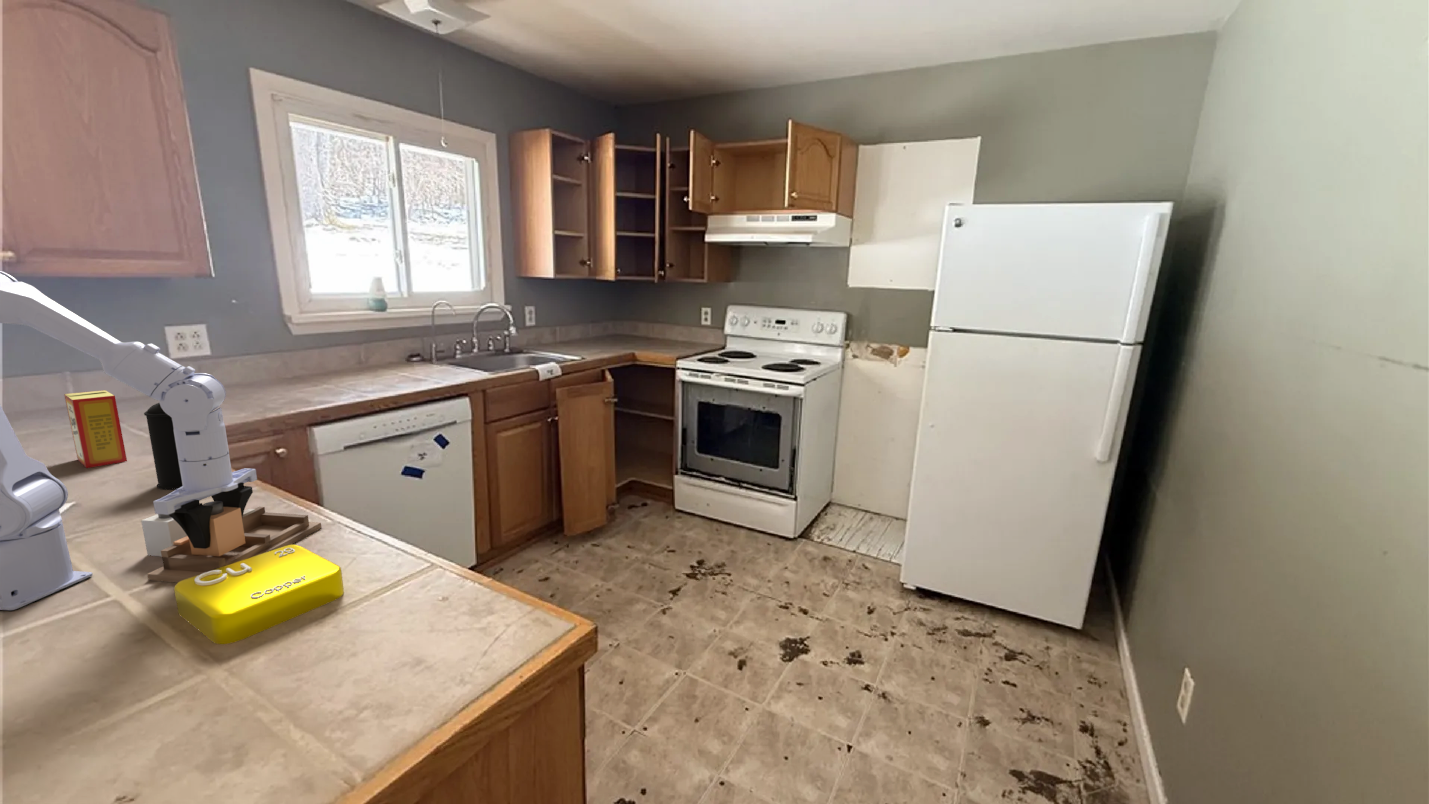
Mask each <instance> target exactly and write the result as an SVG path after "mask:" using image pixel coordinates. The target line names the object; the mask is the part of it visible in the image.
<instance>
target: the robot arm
mask: <svg viewBox="0 0 1429 804" xmlns="http://www.w3.org/2000/svg"><path fill="white" fill-rule="evenodd" d="M0 324H6V325H7V324H9V325H20V326H21V325H23V326H28V327H30V328H32V329H34V330H36V331H38V332H40V333H42V334H44V335H47V336H49V337H51V338H53V339H55V340H58V341H59V342H61V343H63V344H65V345H67V346H69V347H71V348H73V349H75V350H78V351H80V352H82V353H84V354H86V355H89V356H91V357H93V358H95V359H96V360H99V362H100V364H101V368H102V370H103V371H102V372H103V373H104V374H106V375H107V376H109V377H111V378H113V379H114V380H116V381H118V382H119V383H122V384H125V385H126V386H128V387H130V388H132V389H134V390H136V391H138V392H140V393H141V394H143V395H145V396H147V397H149V398H151V399H153V400H154V401H158V403H160V406H161V408H162V409H163V411H164V412H165V413H166V414H168V415H169V416H170V417H172V422H173V428H174V429H173V431H174V437H175V442H176V448H177V454H178V461H179V467H180V473H181V479H182V485H183V486H182V487H180V488H178V489H174V491H172V492H170V493H168V494H167V495H164V496H162V497H161V498H158V499H155V500H153V501H152V503H153V506H154V513H155V514H154V515H156V514H165V515H169V516H170V517H172V518H173V519H174V520H175V521H176V522H177V523H178V524H179V525H180V526H181V527H182V529H183V530H184V532H185V533H186V535H187V536H188V538H189V540H190V541H191V543H192V545H193V547H194V548H202V549H206V548H208V547H210V541H211V537H210V516H211V512H212V509H213V506H205V505H203V502H200V501H202V500H206V499H207V498H210V497H211V498H212V501H222V502H223V507H236V508H240V509H241V515H242V517H243V513H244V511H245V510H246V509H245V508H246V507H247V504H248V501H249V500H250V498H251V497H252V494H253V493H254V492H253V491H254V490H253V487H252V486H250V485H244V484H246V483H251V482H253V483H254V482H255V481H257V480H258V476H257V469H256V468H245V467H244V468H241V469H238V470H234V471H232V465H231V458H230V450H229V443H228V436H227V431H226V430H227V429H226V424H225V421H224V415H223V414H224V413H223V409H222V408H223V407H220V406H221V405H222V404H224V401H225V399H226V396H227V391H226V388H225V386H224V385H223V383H222V382H221V381H220V380H218V379H216V377H215V376H214V375H212V374H209V373H206V372H196V369H195V368H194V367H192V366H189V365H188V366H184V365H182V364H180V363H178V362H177V361H174V360H173V359H171V358H170V357H167V356H166V355H164V354H163V353H161V352H160V351H161V348H160V347H159V346H157V345H155V344H154V343H147V344H144V343H143V342H140V341H126V342H122V341H120V340H119V339H117V338H115V337H113V336H112V335H110V334H109V333H107V332H106V331H103V330H102V329H101V328H100V327H98V326H96V325H94V324H92V323H91V322H89V321H87V320H86V319H85V318H83V317H81V316H79V315H77V314H76V313H74V312H73V311H71V310H69V309H67V308H66V307H65V306H63V305H61V304H59V303H58V302H57V301H55V300H53V299H51V298H50V297H48V296H47V295H45V294H44V293H42V291H40V290H39V289H37V288H36V287H35V286H34V285H31V284H29V283H26V282H23V281H18V279H16V278H15V277H13V276H12V275H10V274H8V272H5V271H2V270H0ZM195 372H196V373H195ZM68 497H69V491H68V488H67V486H66V485H65V483H63V482H62V481H61V480H60V479H58V478H57V477H55V476H54V475H52V473H51V472H50V470H48V468H47V466H46V464H45V463H44V462H42V461H39V460H37V459H35V458H33V457H30V456H28V455H27V453H26V452H25V449H24V448H23V446H22V444H21V442H20V440H19V438H18V436H17V435H16V432H15V431H14V428H13V427H12V424H11V423H10V421H9V418H8V416H7V415H6V413H5V411H4V409H3V406H2V405H1V404H0V611H1V610H2V611H15V610H18V609H20V608H22V607H24V606H26V605H28V604H32V603H33V602H35V601H38V600H41V599H43V598H45V597H48V596H49V595H51V594H54V593H56V592H59V591H60V590H63V589H65V588H68V587H70V586H72V585H74V584H77V583H78V582H82V581H83V580H86V579H88V578H90V577H92V576H93V572H90V571H79V570H73V565H72V560H71V555H70V550H69V547H68V541H67V538H66V532H65V527H64V522H63V519H62V516H61V511H60V509H61V508H63V507H64V506H65V504H66V503H67V501H68Z"/></svg>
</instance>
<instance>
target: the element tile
mask: <svg viewBox="0 0 1429 804" xmlns="http://www.w3.org/2000/svg"><path fill="white" fill-rule="evenodd" d="M343 581H344V580H343V573H342V567H341V566H340V565H338V564H336V563H335V562H332V561H330V560H329V559H326V558H325V557H323V556H321V555H319V554H317V553H315V552H313V551H311V550H309V549H307V548H306V547H304V546H301V545H297V544H292V545H288V546H284V547H281V548H278V549H275V550H272V551H269V552H266V553H263V554H260V555H257V556H254V557H251V558H248V559H245V560H242V561H239V562H236V563H233V564H230V565H227V566H224V567H221V568H218V569H215V570H212V571H209V572H205V573H203V574H200V575H197V576H194V577H191V578H188V579H185V580H182V581H180V582H176V584H175V585H174V587H173V588H174V589H173V590H174V596H175V601H176V606H177V611H178V615H179V616H180V615H181V616H182V617H181V616H180V617H181V618H182V619H184V618H185V619H186V620H187V621H189V622H188V624H190V623H191V624H192V625H193V626H192V625H191V624H190V625H191V626H192V627H194V626H195V627H196V628H197V629H199V630H200V631H199V630H198V631H199V632H200V633H201V632H202V633H203V634H202V633H201V634H202V635H203V636H205V635H206V636H207V637H208V638H207V637H206V636H205V637H206V638H207V639H208V640H210V641H211V642H212V641H213V642H212V643H214V644H216V645H229V644H233V643H237V642H239V641H242V640H245V639H247V638H249V637H252V636H253V635H256V634H259V633H261V632H264V631H266V630H268V629H270V628H273V627H275V626H278V625H280V624H283V623H285V622H287V621H289V620H292V619H294V618H296V617H300V615H301V616H302V615H303V614H306V613H308V612H311V611H313V610H315V609H318V608H320V607H322V606H325V605H326V604H329V603H331V602H334V601H336V600H338V599H339V598H341V597H342V596H343V595H344V594H345V590H344V588H345V587H344V582H343ZM185 619H184V620H185ZM186 620H185V621H186ZM187 621H186V622H187ZM195 627H194V628H195ZM196 628H195V629H196ZM197 629H196V630H197Z"/></svg>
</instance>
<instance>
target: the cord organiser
mask: <svg viewBox="0 0 1429 804" xmlns="http://www.w3.org/2000/svg"><path fill="white" fill-rule="evenodd" d="M242 522H243V529H244V536H245V544H243V545H241V546H239V547H237V548H235V549H233V550H231V551H229V552H227V553H225V554H223V555H221V556H207V555H193V554H192V553H191V547H190V541H189V538H188V536H186V537H184V538H181V539H179V540H177V541H175V542H173V544H174V545H172V546H170V547H168V548H166V549H163V550H161V556H160V557H161V561H162V566H161V567H158V568H156V569H155V570H152V571H150V572H148V573H147V574H146V575H147V579H148V581H155V582H170V583H178V582H180V581H182V580H185V579H188V578H191V577H194V576H197V575H200V574H203V573H205V572H209V571H212V570H215V569H218V568H221V567H224V566H227V565H230V564H233V563H236V562H239V561H242V560H245V559H248V558H251V557H254V556H257V555H260V554H263V553H266V552H269V551H272V550H275V549H278V548H281V547H284V546H288V545H294V544H296V543H297V542H299V541H300V540H302V539H304V538H306V537H309V536H310V535H311V534H313V533H315V532H317V531H318V530H320V529H321V528H322V522H320V521H319V522H318V521H309V515H308V514H296V513H295V514H294V513H282V512H281V513H280V512H268V511H267V512H266V508H265V506H257V507H255V508H247V509H244V513H243V517H242Z"/></svg>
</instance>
